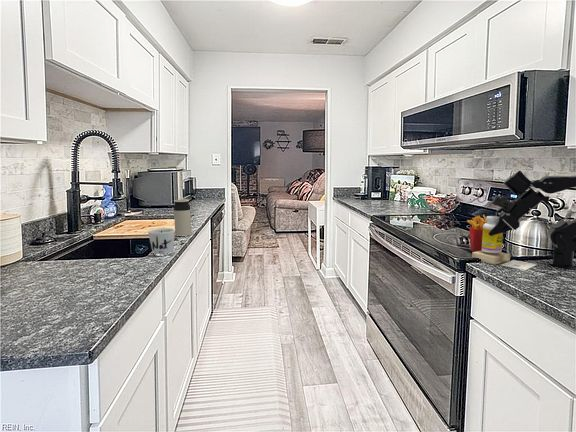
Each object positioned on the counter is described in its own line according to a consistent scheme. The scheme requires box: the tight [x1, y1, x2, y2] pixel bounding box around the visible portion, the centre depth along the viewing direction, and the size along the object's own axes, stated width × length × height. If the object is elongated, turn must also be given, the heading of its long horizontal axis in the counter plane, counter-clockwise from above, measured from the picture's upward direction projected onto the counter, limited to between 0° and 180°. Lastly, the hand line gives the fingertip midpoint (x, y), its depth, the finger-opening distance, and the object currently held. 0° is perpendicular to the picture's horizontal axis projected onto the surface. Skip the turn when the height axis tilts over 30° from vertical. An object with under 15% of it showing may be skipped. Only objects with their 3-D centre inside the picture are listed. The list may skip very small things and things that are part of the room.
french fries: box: [466, 214, 487, 252], centre depth 159 cm, size 9×8×15 cm
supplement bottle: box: [482, 215, 504, 253], centre depth 147 cm, size 7×7×13 cm
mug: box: [147, 228, 175, 253], centre depth 166 cm, size 10×15×10 cm
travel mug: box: [173, 198, 192, 236], centre depth 202 cm, size 8×8×18 cm
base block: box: [471, 250, 511, 265], centre depth 148 cm, size 9×9×2 cm
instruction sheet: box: [501, 259, 538, 271], centre depth 141 cm, size 10×8×1 cm
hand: (488, 233), depth 148 cm, fingers closed on supplement bottle, 7 cm apart
